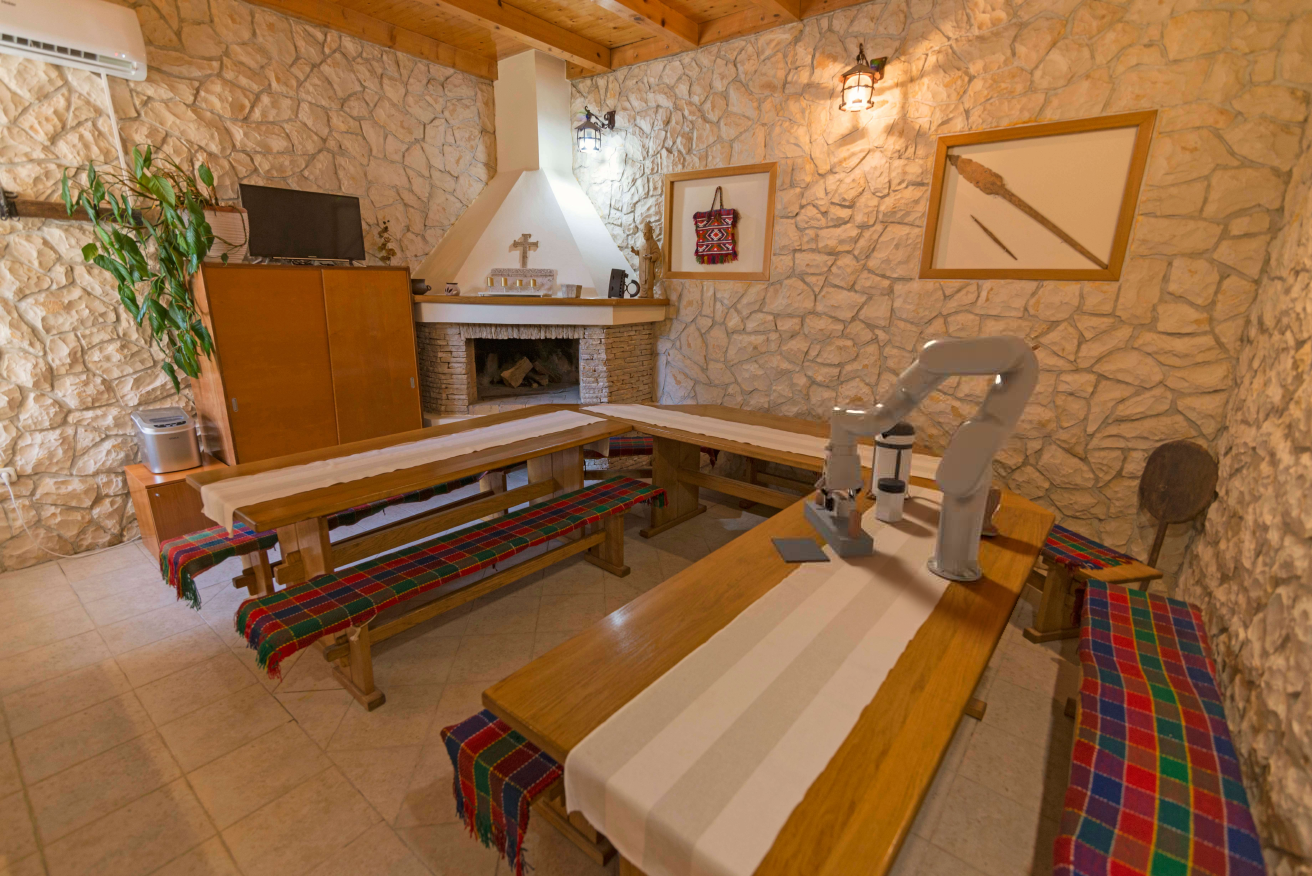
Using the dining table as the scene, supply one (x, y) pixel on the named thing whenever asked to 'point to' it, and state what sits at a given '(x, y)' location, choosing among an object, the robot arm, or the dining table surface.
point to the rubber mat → (799, 549)
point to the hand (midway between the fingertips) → (839, 508)
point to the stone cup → (991, 511)
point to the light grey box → (842, 504)
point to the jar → (889, 499)
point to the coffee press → (892, 455)
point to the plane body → (839, 529)
